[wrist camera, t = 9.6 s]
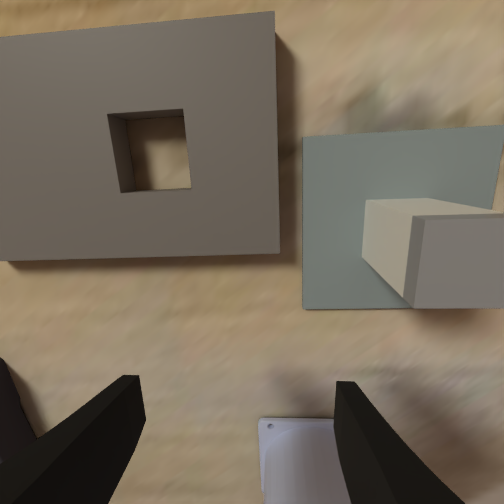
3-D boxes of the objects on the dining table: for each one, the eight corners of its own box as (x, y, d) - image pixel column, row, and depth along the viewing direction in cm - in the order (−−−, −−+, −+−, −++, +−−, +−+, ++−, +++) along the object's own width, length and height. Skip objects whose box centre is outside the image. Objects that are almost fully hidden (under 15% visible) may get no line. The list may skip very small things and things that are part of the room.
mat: (501, 125, 16) (506, 124, 16) (469, 304, 19) (473, 307, 19) (302, 137, 17) (302, 137, 16) (302, 306, 20) (303, 309, 19)
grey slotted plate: (274, 30, 15) (274, 10, 13) (279, 244, 19) (280, 253, 17) (-62, 60, 17) (-104, 47, 15) (-2, 253, 20) (-31, 262, 18)
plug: (428, 198, 17) (530, 217, 10) (420, 256, 18) (508, 308, 11) (365, 199, 17) (425, 219, 10) (361, 257, 18) (413, 308, 11)
